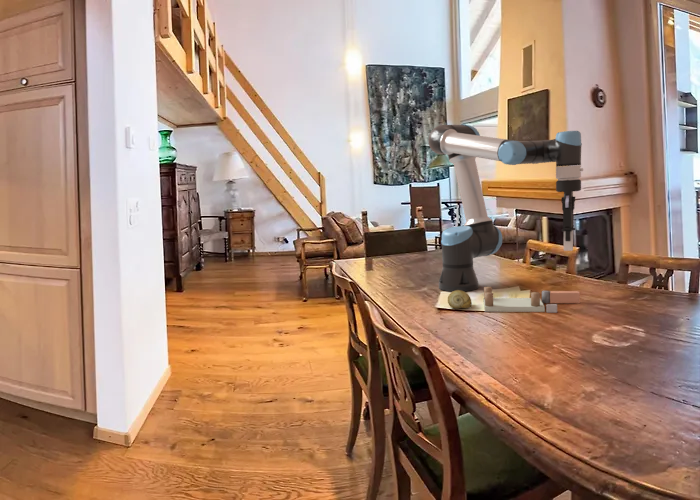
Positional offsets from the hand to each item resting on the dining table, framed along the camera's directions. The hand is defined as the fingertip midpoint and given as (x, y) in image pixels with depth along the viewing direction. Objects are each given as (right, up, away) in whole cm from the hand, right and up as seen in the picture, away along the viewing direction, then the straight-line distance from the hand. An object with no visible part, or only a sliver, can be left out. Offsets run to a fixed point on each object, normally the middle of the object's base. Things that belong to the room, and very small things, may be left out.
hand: (568, 250), depth 162 cm
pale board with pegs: (-19, -19, -5) cm, 27 cm away
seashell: (-37, -19, 0) cm, 41 cm away
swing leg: (-4, -17, -3) cm, 18 cm away
